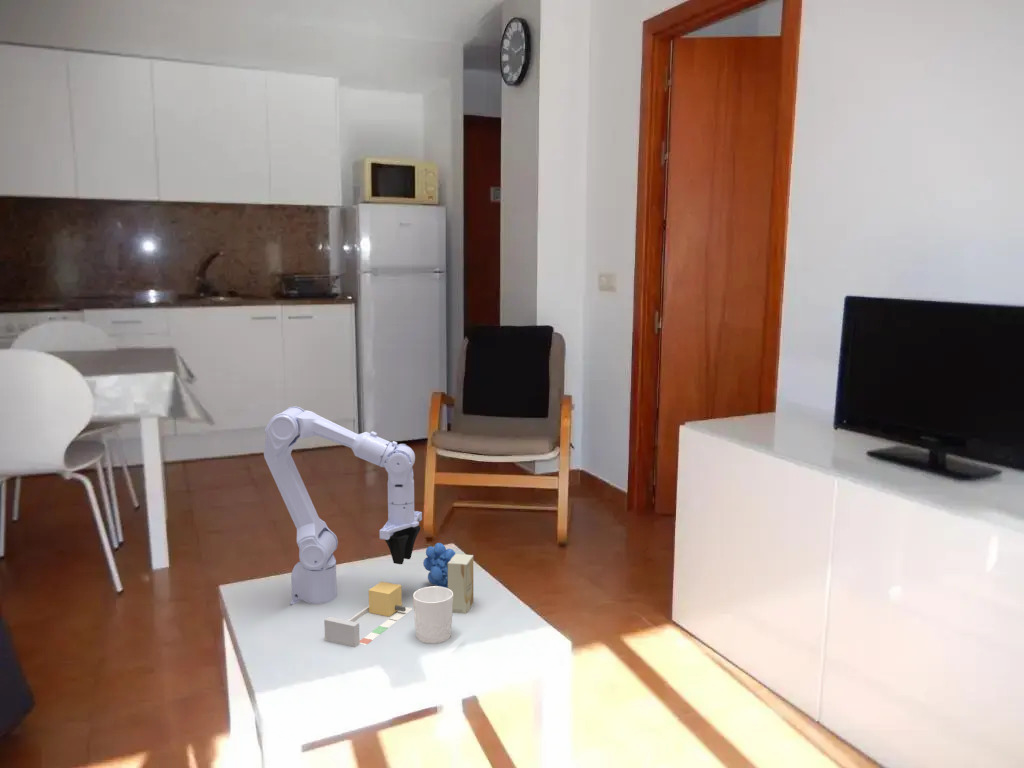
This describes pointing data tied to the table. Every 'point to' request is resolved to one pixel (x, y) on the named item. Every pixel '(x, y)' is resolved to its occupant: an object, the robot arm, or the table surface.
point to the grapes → (438, 564)
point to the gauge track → (355, 628)
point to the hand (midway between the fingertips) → (402, 560)
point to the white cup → (433, 614)
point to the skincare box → (461, 582)
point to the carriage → (385, 599)
